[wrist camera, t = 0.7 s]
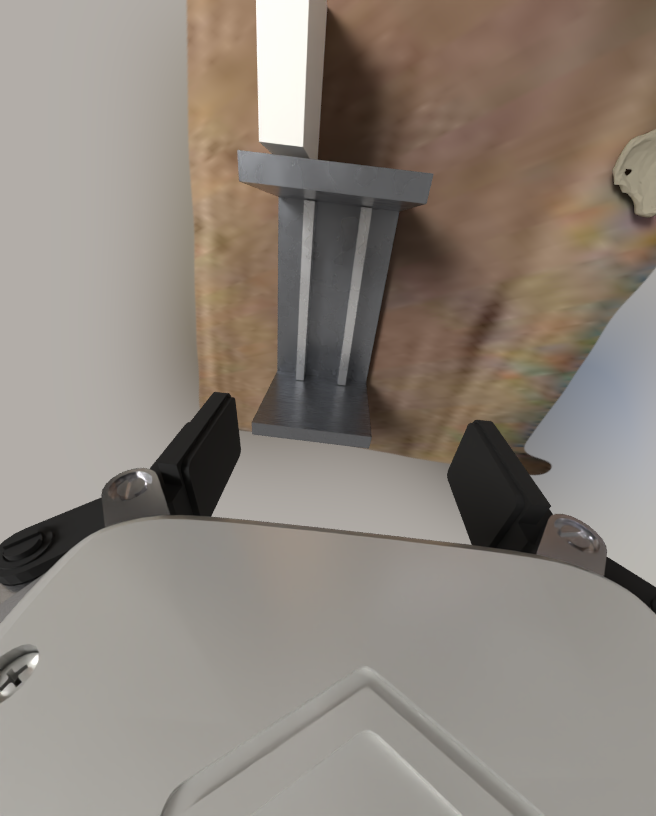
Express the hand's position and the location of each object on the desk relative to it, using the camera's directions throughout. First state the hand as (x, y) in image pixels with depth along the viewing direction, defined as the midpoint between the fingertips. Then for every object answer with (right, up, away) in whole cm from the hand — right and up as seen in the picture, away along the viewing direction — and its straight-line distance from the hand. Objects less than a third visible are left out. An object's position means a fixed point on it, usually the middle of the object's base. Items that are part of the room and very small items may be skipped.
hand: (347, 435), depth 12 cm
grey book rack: (-1, +14, +23) cm, 27 cm away
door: (-3, +29, +13) cm, 32 cm away
